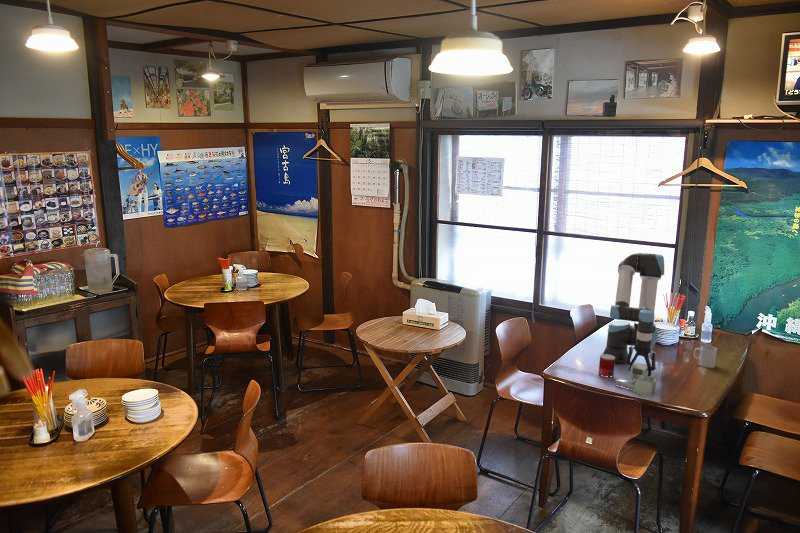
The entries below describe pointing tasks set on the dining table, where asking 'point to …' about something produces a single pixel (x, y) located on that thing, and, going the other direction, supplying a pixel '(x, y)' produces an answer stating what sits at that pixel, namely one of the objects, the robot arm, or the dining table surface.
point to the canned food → (606, 365)
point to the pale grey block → (639, 385)
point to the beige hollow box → (638, 370)
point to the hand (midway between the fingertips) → (639, 379)
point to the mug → (706, 356)
